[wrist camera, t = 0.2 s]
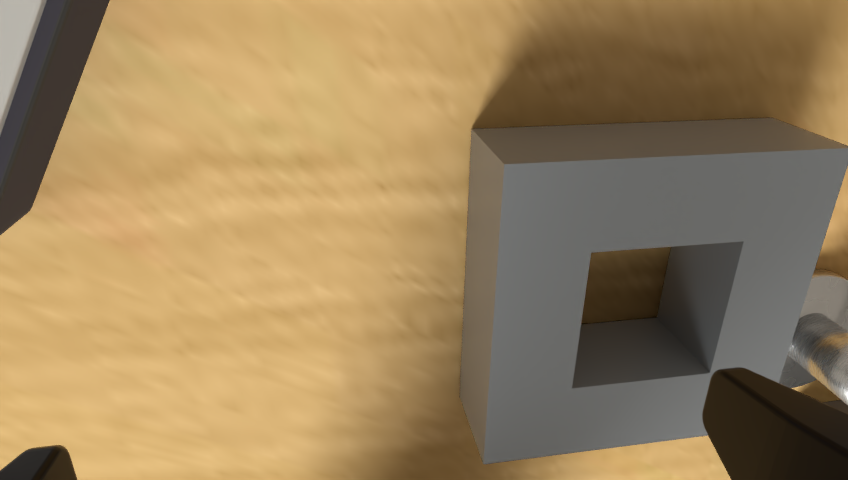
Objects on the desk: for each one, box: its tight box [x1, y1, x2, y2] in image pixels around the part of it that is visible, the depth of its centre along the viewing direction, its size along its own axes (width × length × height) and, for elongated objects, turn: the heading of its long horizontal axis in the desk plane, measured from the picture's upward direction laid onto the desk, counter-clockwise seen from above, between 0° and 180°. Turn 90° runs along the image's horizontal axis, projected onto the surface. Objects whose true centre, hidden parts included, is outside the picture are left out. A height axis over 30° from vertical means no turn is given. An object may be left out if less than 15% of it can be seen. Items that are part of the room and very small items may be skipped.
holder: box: [460, 118, 848, 464], centre depth 24 cm, size 12×12×4 cm
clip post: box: [779, 269, 848, 405], centre depth 27 cm, size 6×6×5 cm
